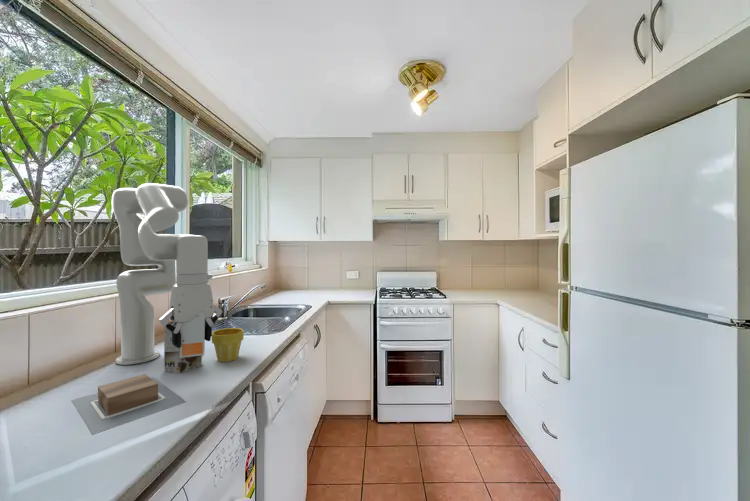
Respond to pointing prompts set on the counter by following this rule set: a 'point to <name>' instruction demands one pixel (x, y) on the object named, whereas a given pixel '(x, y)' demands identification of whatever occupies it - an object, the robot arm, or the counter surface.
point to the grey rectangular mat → (101, 421)
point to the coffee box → (177, 356)
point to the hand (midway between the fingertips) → (192, 342)
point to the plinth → (127, 394)
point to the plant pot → (227, 343)
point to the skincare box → (193, 337)
